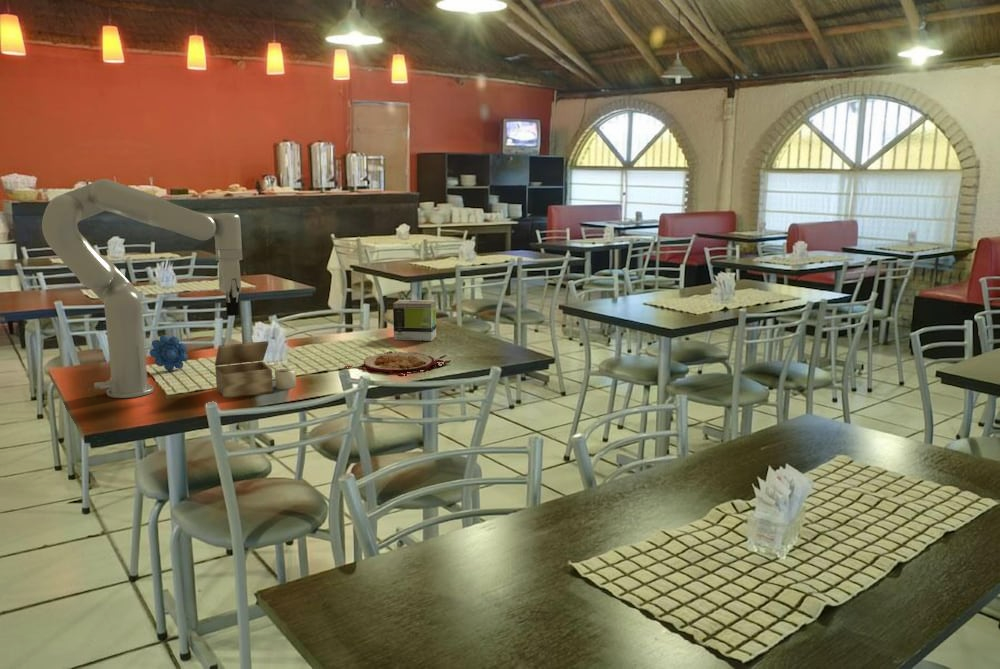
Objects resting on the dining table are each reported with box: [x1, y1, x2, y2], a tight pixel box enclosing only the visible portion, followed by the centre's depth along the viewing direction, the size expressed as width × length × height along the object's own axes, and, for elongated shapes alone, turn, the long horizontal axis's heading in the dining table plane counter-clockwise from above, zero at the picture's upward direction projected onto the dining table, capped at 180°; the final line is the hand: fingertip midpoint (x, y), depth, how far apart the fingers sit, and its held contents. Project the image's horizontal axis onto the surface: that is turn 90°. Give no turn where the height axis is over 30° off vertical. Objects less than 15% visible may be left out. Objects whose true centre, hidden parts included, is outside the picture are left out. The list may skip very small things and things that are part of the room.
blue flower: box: [149, 334, 189, 372], centre depth 264 cm, size 12×7×12 cm, turn 123°
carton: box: [214, 361, 274, 399], centre depth 242 cm, size 14×11×7 cm
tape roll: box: [274, 367, 297, 390], centre depth 247 cm, size 6×6×5 cm
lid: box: [214, 340, 269, 367], centre depth 242 cm, size 14×11×1 cm
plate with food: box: [343, 350, 451, 376], centre depth 274 cm, size 25×26×4 cm
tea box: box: [392, 299, 437, 342], centre depth 317 cm, size 15×10×15 cm
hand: (232, 314), depth 249 cm, fingers closed
